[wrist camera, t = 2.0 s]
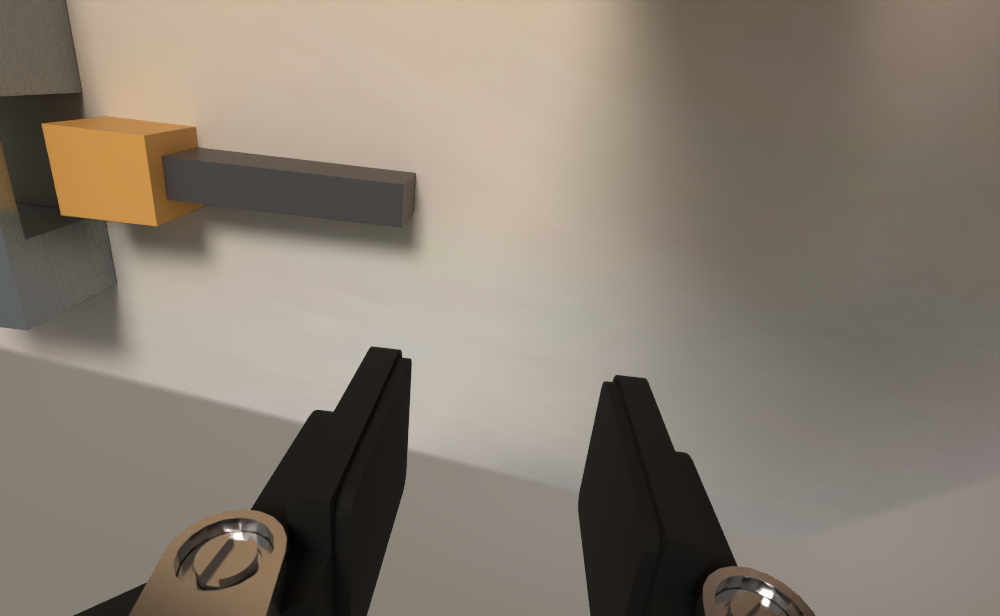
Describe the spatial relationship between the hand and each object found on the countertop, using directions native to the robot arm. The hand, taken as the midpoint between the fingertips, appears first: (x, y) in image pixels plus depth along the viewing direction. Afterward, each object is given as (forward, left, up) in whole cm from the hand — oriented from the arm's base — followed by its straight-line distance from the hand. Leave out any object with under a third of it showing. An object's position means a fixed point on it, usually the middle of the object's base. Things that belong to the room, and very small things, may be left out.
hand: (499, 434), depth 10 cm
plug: (0, -14, -19) cm, 24 cm away
